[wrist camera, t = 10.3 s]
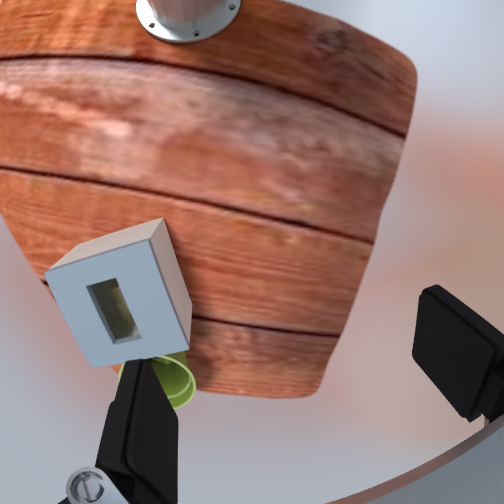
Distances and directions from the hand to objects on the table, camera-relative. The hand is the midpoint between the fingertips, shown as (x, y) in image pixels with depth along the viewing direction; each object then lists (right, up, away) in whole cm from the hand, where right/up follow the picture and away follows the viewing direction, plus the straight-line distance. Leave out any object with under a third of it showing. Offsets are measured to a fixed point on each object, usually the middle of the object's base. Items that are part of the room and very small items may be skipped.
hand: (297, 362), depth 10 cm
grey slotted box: (-16, +1, +28) cm, 32 cm away
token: (-16, -1, +28) cm, 32 cm away
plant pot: (-14, -9, +32) cm, 36 cm away
